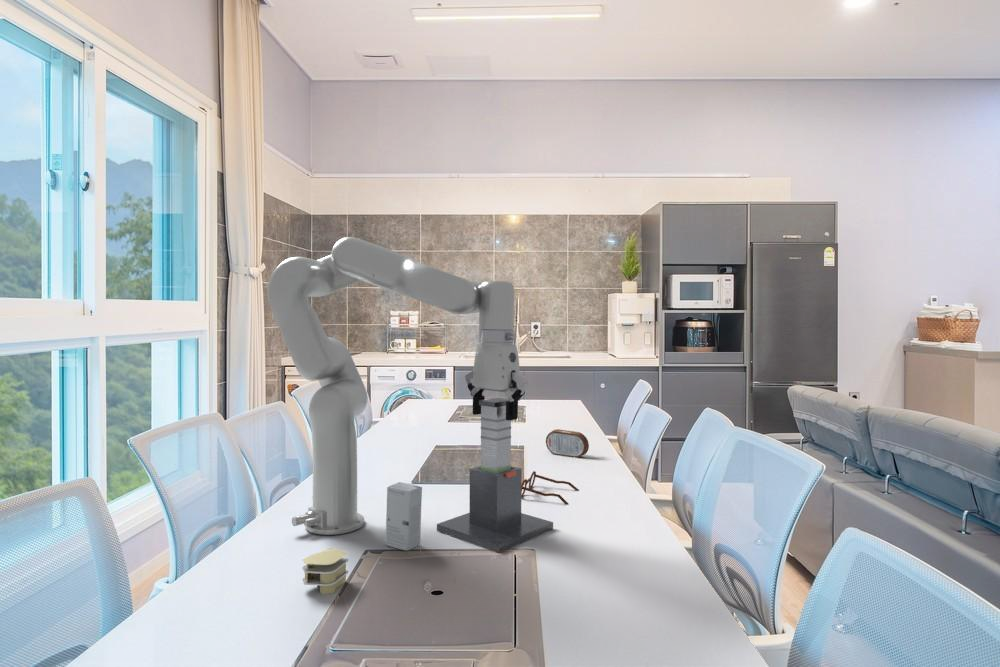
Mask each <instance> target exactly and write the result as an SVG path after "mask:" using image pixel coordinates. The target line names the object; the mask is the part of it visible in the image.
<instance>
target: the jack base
mask: <svg viewBox="0 0 1000 667" xmlns="http://www.w3.org/2000/svg"><path fill="white" fill-rule="evenodd" d="M480 466H481V465H479V466H475V467H472V468H469V512H468V513H465V514H461V515H459V516H456V517H453V518H451V519H447V520H445V521H441V522H439V523H436V531H437V532H438V533H442V534H444V535H447V536H449V537H453V538H456V539H459V540H461V541H465V542H467V543H471V544H473V545H476V546H479V547H481V548H484V549H487V550H490V551H493V552H495V551H496V552H495V553H498V552H500V553H501V551H502V552H504V551H506V550H508V549H511V548H513V547H516V546H517V545H520V544H522V543H525V542H526V541H530V540H532V539H533V538H536V537H538V536H540V535H543V534H545V533H547V532H549V531H550V532H551V530H554V522H553V521H550V520H546V519H544V518H540V517H536V516H533V515H530V514H525V513H523V512H522V498H521V495H522V494H521V485H522V479H523V478H522V475H523V473H522V472H523V471H522V468H521V467H517V466H514V465H513V466H512V465H511V470H508V471H504V472H501V473H498V474H496V473H492V472H488V471H484V470H480Z"/></svg>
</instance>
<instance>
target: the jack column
mask: <svg viewBox="0 0 1000 667" xmlns="http://www.w3.org/2000/svg"><path fill="white" fill-rule="evenodd" d="M507 401H509V400H508V398H502V397H493V398H488V399H485V400H480V401H479V405H481V414H480V465H479V466H480V470H484V471H488V472H492V473H496V474H498V473H501V472H504V471H508V470H511V466H512V465H511V463H512V462H511V459H512V458H511V457H512V455H511V453H512V452H511V451H512V450H511V449H512V443H511V442H512V420H510V421H508V420H506V402H507Z"/></svg>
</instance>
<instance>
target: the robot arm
mask: <svg viewBox="0 0 1000 667" xmlns="http://www.w3.org/2000/svg"><path fill="white" fill-rule="evenodd" d="M361 281H362V282H363V283H367V284H369V285H372V286H375V287H378V288H380V289H383V290H386V291H389V292H391V293H394V294H397V295H399V296H404V297H408V298H410V299H413V300H415V301H419V302H421V303H423V304H427V305H429V306H432V307H435V308H437V309H439V310H443V311H445V312H449V313H451V314H455V315H468V314H476V313H477V314H479V315H478V316H479V317H478V343H477V344H476V348H475V349H476V350H475V352H474V353H475V355H474V360H473V361H474V362H473V370H471V372H469V373H467V374H465V376H464V378H465V381H466V384H467V388H468V390H469V392H470V393H469V394H470V396H471V397H472V415H475V416H476V415H477V416H478V415H481V405H479V401H480V400H486V399H485V395H484V393H485V391H491V392H492V391H494V392H498V393H499V392H501V393H502V392H503V393H504V395H505V397H506V399H508V400H509V401H507V402H506V420H508V421H510V420H511V421H513V420H514V421H515V420H518V418H519V417H518V416H519V401H521V400H522V397H523V396H524V395H525V393H526V390H527V388H528V386H529V382H528V380H526V379H525V378H524V377H522V376H521V374H520V373H521V372H520V371H521V370H520V359H519V351H518V347H517V344H514V341H516V339H517V334H516V333H514V332H515V330H514V329H515V327H514V326H515V323H514V322H515V286H514V284H513V282H510V281H508V280H507V281H506V280H485V281H483V282H478V281H471V280H468V279H466V278H464V277H460V276H457V275H455V274H451V273H448V272H446V271H444V270H441V269H438V268H435V267H433V266H430V265H427V264H424V263H422V262H420V261H418V260H416V259H415V258H413V257H411V256H408V255H405V254H404V253H400V252H397V251H394V250H391V249H389V248H387V247H384V246H381V245H378V244H375V243H372V242H369V241H367V240H363V239H361V238H358V237H354V236H347V237H343V238H340V239H339V240H338V241H336V242H335V244H334V245H333V247H332V250H331V253H330V254H329V255H327V256H325V257H321V258H320V259H313V258H309V257H305V256H293V257H289V258H287V259H285V260H283V261H282V262H281V263H279V264H278V265H277V266H276V267H275V269H274V270H273V271H272V273H271V275H270V277H269V280H268V282H267V301H268V304H269V307H270V308H269V309H270V311H271V312H272V315H273V317H274V319H275V322H276V324H277V326H278V328H279V331H280V333H281V335H282V338H283V341H284V342H285V345H286V348H287V350H288V352H289V354H290V357H291V359H292V362H293V364H294V367H295V368H296V370H297V373H298V374H299V375H300V376H301V378H303V379H304V380H306V381H311V382H319V385H320V386H321V387H320V388H319V389H318V390H316V392H314V394H313V395H312V397H311V400H310V402H309V406H308V416H309V422H310V423H309V424H310V431H311V442H312V444H311V445H312V446H311V447H312V449H311V450H312V452H311V453H312V506H309V507H308V508H307V509H308V510H307V511H306V512H305V513H304V514H302V515H301V514H300V515H297V516H296V515H295V516H293V517H292V518H291V523H292V526H293V527H297V526H301V525H304V527H305V529H306V531H308V532H309V533H312V534H315V535H323V536H330V535H331V536H332V535H333V536H334V535H342V534H346V533H351V532H354V531H356V530H357V531H358V530H359V529H360V528H362V527H363V526H364V524H365V516H363V515H362V514H361V513H358V441H357V430H356V425H355V419H356V418H358V417H359V416H361V414H363V412H364V411H365V410H366V407H367V405H368V392H367V390H366V387H365V384H364V381H363V379H362V377H361V375H360V372H359V370H358V368H357V366H356V364H355V361H354V359H353V357H352V355H351V353H350V351H349V349H348V348H347V347H346V346H347V345H345V344H344V343H343V342H342V341H340V340H339V339H338V338H335V337H330V336H327V334H326V332H325V330H324V328H323V326H322V324H321V323H322V322H321V321H320V318H319V316H318V314H317V312H316V311H315V310H314V308H313V306H312V305H311V303H310V300H309V299H310V298H309V297H311V298H321V297H325V296H328V295H331V294H333V293H336V292H338V291H341V290H342V289H345V288H347V287H349V286H350V287H351V286H352V285H355V284H357V283H359V282H361Z"/></svg>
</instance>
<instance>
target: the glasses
mask: <svg viewBox="0 0 1000 667" xmlns="http://www.w3.org/2000/svg"><path fill="white" fill-rule="evenodd" d="M536 478H538V479H541V480H545V481H547V482H551V483H555V484H565V485H568V486H569V487H571V488H572V489H573V490H574V491H580V489H579V488H577V487H576V486H575V485H574V484H572V483H571V482H570V481H566V480H556V479H553V478H549V477H546V476H543V475H539V474H537V472H536V470H533V471H532V473H531V474H530V477H529V478H528V479H526V478H524V479H523V481H522V482H521V499H522V497H524V496H525V493H526V491H527V492H530V493H534V494H536V495H540V496H543V497H557V498H558V499H559V500H560V501H561V502H562V503H563V504H564V505H569V502H568V501H567V500H566V499H565V498H564V497H563V496H562V495H560V494H557V493H553V492H550V493H549V492H548V493H546V492H542V491H539V490H535V489H532V488H533V487H534V484H535V481H536ZM527 486H528V487H527Z"/></svg>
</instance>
